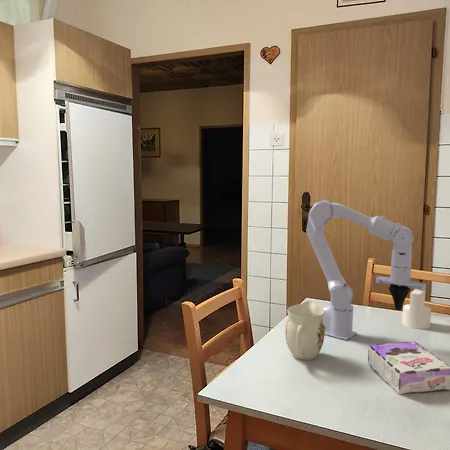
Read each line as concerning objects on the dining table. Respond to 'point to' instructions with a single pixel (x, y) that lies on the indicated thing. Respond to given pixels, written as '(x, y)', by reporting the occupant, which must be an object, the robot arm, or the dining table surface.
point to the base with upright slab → (416, 311)
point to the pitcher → (305, 330)
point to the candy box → (409, 367)
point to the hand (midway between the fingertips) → (398, 309)
